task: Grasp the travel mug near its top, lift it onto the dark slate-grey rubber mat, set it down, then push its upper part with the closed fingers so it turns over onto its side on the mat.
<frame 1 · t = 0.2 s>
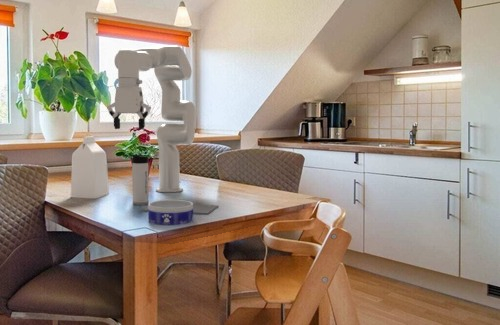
hand: (129, 129, 179), 30 cm above the table, tool pointing down, fingers open, 9 cm apart
dog bowl: (170, 221, 163), on the table
travel mug: (140, 204, 191), on the table
mat: (180, 208, 182), on the table
milk: (90, 195, 209), on the table
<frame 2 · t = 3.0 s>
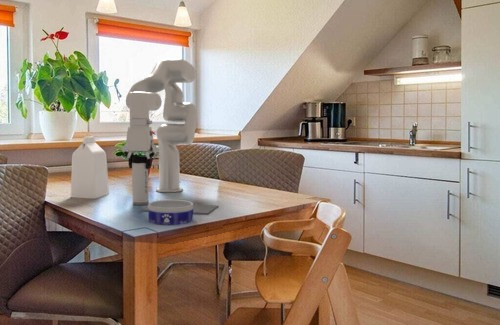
hand: (139, 167, 190), 15 cm above the table, tool pointing down, fingers closed on travel mug, 6 cm apart
travel mug: (140, 204, 191), on the table, touching gripper
everything else where it was.
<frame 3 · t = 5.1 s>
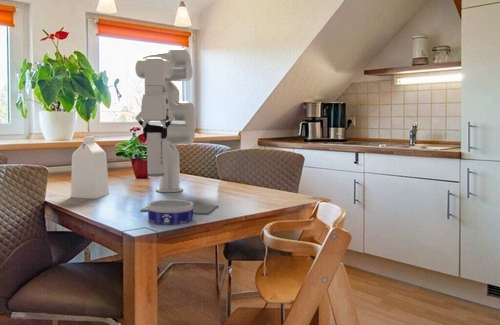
hand: (155, 137, 181), 27 cm above the table, tool pointing down, fingers closed on travel mug, 6 cm apart
travel mug: (155, 176, 183), point 12 cm above the table, touching gripper
everything else where it was.
when the fingers open (16 cm above the table, at t = 7.5 s): travel mug moves 1 cm, resting on mat.
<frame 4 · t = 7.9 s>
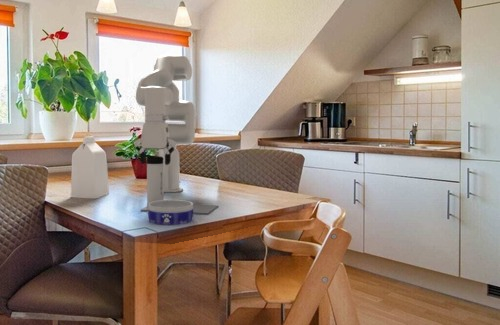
hand: (155, 163, 182), 17 cm above the table, tool pointing down, fingers open, 9 cm apart
travel mug: (155, 206, 184), resting on mat
everything else where it was.
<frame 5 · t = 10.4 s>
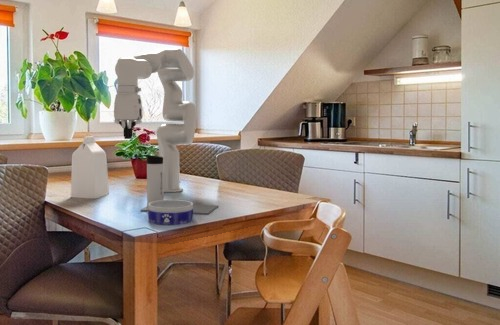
hand: (128, 138, 183), 27 cm above the table, tool pointing down, fingers closed
nothing on the table moved.
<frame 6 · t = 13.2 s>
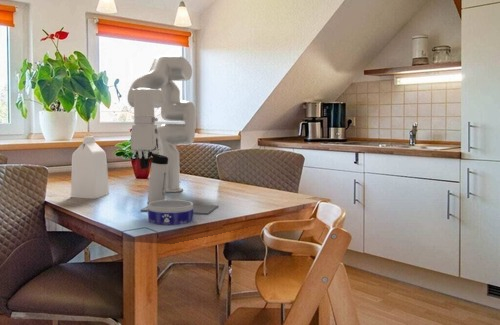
hand: (144, 168, 183), 15 cm above the table, tool pointing down, fingers closed
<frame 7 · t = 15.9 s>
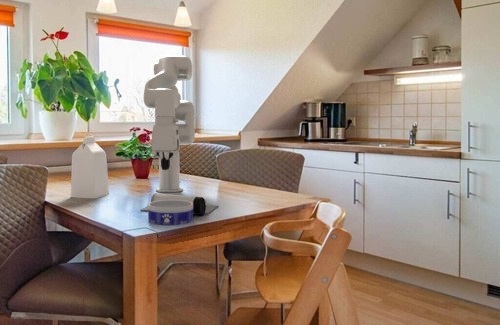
hand: (165, 169, 182), 15 cm above the table, tool pointing down, fingers closed
travel mug: (153, 201, 176), point 4 cm above the table, touching mat
everything else where it was.
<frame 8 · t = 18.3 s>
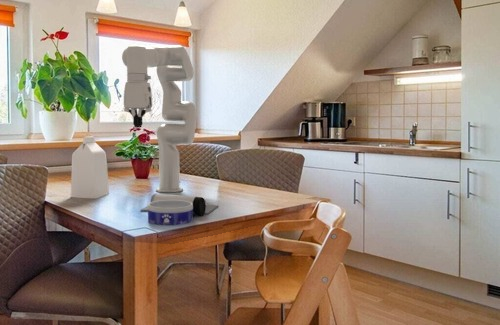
hand: (137, 127, 182), 31 cm above the table, tool pointing down, fingers closed
travel mug: (153, 202, 176), point 4 cm above the table, touching mat
everything else where it was.
at the end: travel mug tilted 91°; travel mug inside the target area (12.7 cm from its centre), point 3.6 cm above the table; the gripper is holding nothing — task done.
